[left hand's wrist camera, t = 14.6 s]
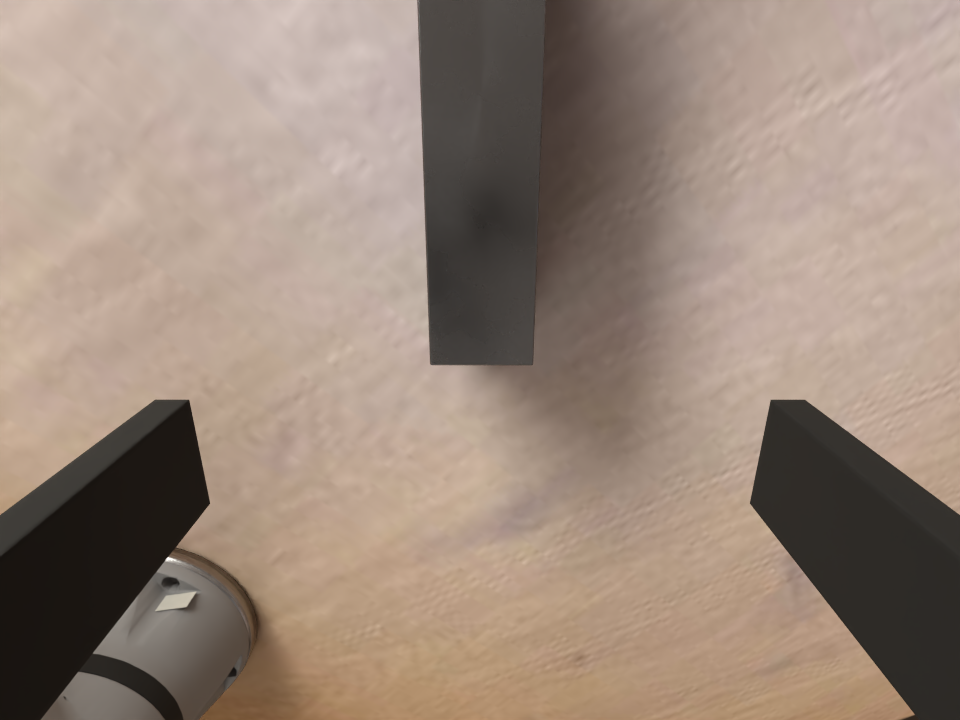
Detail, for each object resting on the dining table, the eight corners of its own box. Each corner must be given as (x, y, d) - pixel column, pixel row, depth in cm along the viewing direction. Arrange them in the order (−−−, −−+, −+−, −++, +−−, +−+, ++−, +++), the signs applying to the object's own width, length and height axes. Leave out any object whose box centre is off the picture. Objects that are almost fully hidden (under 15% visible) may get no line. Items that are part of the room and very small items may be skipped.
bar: (521, 318, 37) (533, 365, 29) (441, 318, 37) (430, 365, 29) (534, -167, 28) (556, -302, 20) (429, -166, 28) (406, -301, 20)
